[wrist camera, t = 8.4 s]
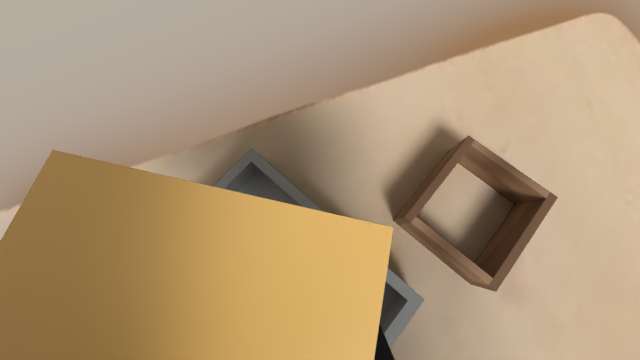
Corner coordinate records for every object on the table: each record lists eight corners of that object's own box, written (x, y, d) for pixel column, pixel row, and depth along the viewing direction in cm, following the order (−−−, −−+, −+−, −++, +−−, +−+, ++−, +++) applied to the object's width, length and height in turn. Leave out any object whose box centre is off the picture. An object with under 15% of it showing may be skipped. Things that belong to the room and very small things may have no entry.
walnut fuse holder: (525, 203, 21) (557, 197, 18) (470, 284, 19) (496, 291, 16) (449, 149, 22) (468, 135, 19) (393, 220, 21) (404, 217, 18)
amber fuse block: (339, 242, 15) (393, 228, 3) (321, 332, 13) (295, 894, 2) (262, 224, 15) (53, 150, 3) (237, 309, 14) (-229, 642, 2)
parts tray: (409, 290, 19) (424, 299, 16) (261, 493, 16) (247, 548, 13) (261, 160, 22) (251, 148, 19) (114, 309, 19) (76, 321, 16)
